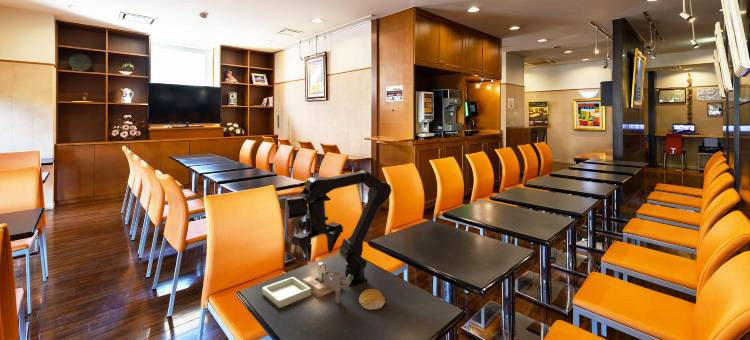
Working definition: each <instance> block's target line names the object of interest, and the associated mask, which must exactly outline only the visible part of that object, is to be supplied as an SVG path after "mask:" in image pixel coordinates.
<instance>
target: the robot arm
mask: <svg viewBox="0 0 750 340" xmlns="http://www.w3.org/2000/svg"><path fill="white" fill-rule="evenodd" d="M360 184H363V185H365V186H366V187H367V188H368V192H367V201H366V204H365V206H364V208H363V210H362V212H361V215H360V217H359V219H358V221H357V223H356V225H355V227H354V230H353V232H352V234H351V236H350V237H349V238H347V239H346V238H343V239H342V242H341V245H340V246H339V251H338V252H339V255H340V258H342V260H344V262H345V263H347V265H345V274H344V275H345V276H344V277H348V274H351V275H353V280H351V283H350V285H352V286H357V285H359V284H361V283H363V282H365V281H367V280H368V278H367V277H366V276H365V268H366V267H367V263H368V261H367V260H366V259H364V258H363V257H362V255H363V250H364V248H363V247H364V241H365V238H366V236H367V234H368V232H369V230H370V228H371V226H372V224H373V222H374V219H375V216H376V214H377V212H379V211H378V210H379V209H380V207H381V206H382V205H383V204H384V203H386V202H387V199H388V198H389V197H390V196H391V193H392V188H391V185H390V184H389V183H388V182H384V181H382V180H380V179H379V178H377V177H375V176H374V175H373V174H371V172H370V171H367V170H363V169H362V170H361V169H360V170H359V171H355V172H350V173H349V172H348V173H344V174H341V175H335V176H329V177H327V176H326V177H325V176H311V177H309V178H307V179H306V181H305V183H304V188H303V189H302V191H301V192H300V194H299V197H289V198H288V197H287V198H286V199H285V206H284V213H285V217H286V219H287V220H294V219H298V218H304V217H306V218H305V221H304V220H303V221H302V219H299V220H295V221H294V226H295V227H294V228H295V230H296V231H299V230H300V232H299V233H295V234H292V235H291V237H290V243H291V244H292V245H294V246H297V247H299V248H300V249H301V250H302V253H303V254H304V256H305V259H306V260H307V262H311V260H312V248H313V247H312V246H313V245H312V244H311V242H312V239H315V238H318V237H320V236H323V235H325V236H326V241H327V244H326V245H327V251H328V253H329V254H331V253H332V252H333V250H334V248H335V247H334V246H335V245H336V243H337V240H338V239H339V237H340V236H341V235H342V233H344V226H343V225H342V224H341V223H339V222H335V221H332V222H329V223H327V222H326V221H328V220H329V216H326V204H325V203H326V201H327V202H328V201H331V197H329V196H328V195H327V194H330V193H331V192H332V191H333V190H336V189H341V188H346V187H349V186H355V185H360ZM307 215H308V216H307ZM304 231H305V232H306V233H304Z"/></svg>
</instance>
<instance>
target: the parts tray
mask: <svg viewBox="0 0 750 340" xmlns="http://www.w3.org/2000/svg"><path fill="white" fill-rule="evenodd" d="M262 295H263V296H264V297H265V298H267V300H268V301H270V302H271V303H273V304H274V305H275V306H276V307H277V308H279V309H281V308H283V307H285V306H287V305H290V304H294V303H296V302H298V301H301V300H303V299H305V298H308V297H310V296H312V292H311V288H310V287H308V286H307V285H305V284H304V283H303V281H301V280H300V279H298V278H296V277H294V276H292V277H288V278H286V279H283V280H282V279H281V280H280V281H277V282H274V283H271V284H268V285H266V286H263V287H262Z"/></svg>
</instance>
